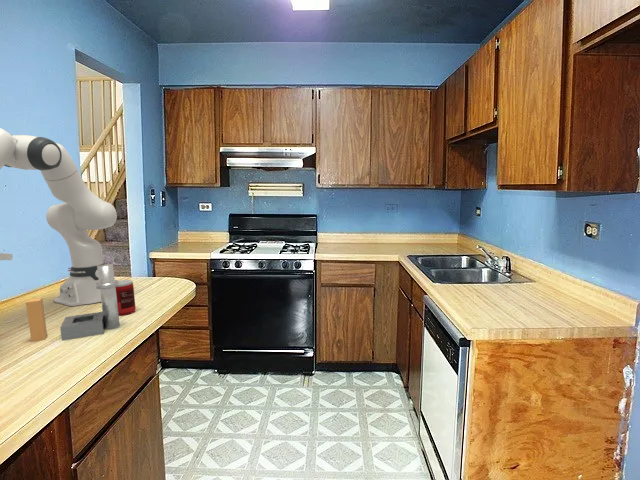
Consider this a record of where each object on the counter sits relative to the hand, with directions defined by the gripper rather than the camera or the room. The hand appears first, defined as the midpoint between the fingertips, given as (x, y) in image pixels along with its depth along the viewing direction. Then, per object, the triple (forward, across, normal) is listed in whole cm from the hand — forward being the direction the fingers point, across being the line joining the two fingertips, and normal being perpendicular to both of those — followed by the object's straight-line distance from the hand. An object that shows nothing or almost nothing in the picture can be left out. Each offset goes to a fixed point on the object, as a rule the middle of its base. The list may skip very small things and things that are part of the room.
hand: (11, 256), depth 119 cm
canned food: (+34, +13, +20) cm, 41 cm away
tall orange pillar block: (+8, +5, +25) cm, 26 cm away
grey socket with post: (+22, +1, +23) cm, 32 cm away
